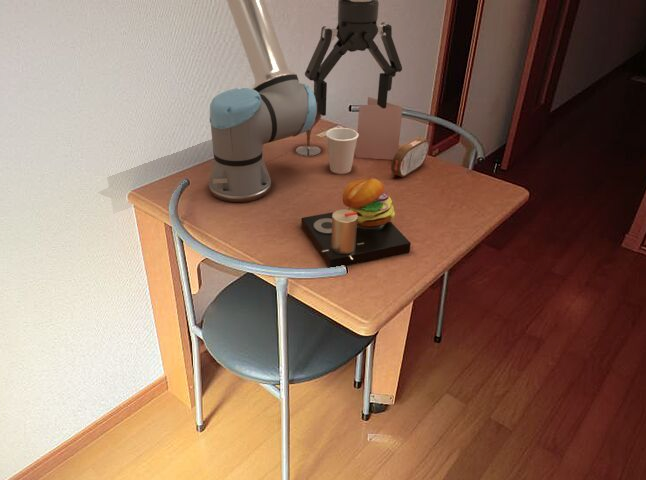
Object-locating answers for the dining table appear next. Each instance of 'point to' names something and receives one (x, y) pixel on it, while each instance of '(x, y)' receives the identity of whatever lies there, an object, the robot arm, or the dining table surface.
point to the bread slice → (410, 156)
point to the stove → (358, 243)
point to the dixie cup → (341, 149)
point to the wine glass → (309, 149)
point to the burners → (326, 226)
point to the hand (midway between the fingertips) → (352, 109)
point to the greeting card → (378, 130)
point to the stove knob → (344, 231)
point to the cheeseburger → (369, 202)
